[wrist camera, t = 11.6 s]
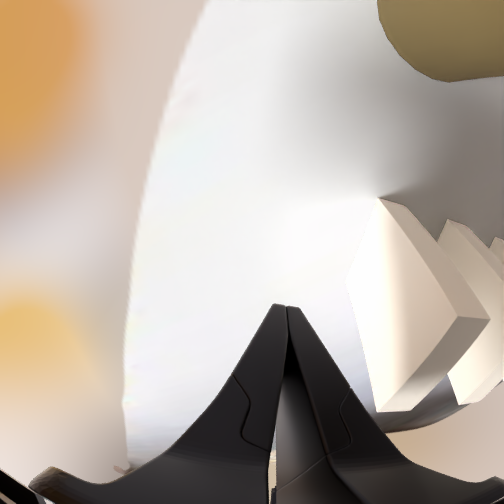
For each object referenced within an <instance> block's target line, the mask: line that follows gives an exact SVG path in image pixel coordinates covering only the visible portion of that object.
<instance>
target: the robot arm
mask: <svg viewBox="0 0 504 504" xmlns="http://www.w3.org/2000/svg"><path fill="white" fill-rule="evenodd" d="M275 426H276V481H277V482H276V486H275V488H272V491H271V502H270V504H504V498H502V497H504V480H503V479H500V478H498V477H496V476H494V477H491V478H489V479H487V480H485V481H483V482H477V483H473V482H466V481H463V480H459V479H456V478H453V477H450V476H447V475H445V474H442V473H439V472H436V471H433V470H431V469H428V468H425V467H423V466H420V465H417V464H415V463H414V462H412V461H410V460H409V459H407V458H406V457H405V456H404V455H403V454H401V452H400V451H399V450H398V449H397V448H396V447H395V445H394V444H393V443H392V442H391V441H390V439H389V438H388V437H387V436H386V434H385V433H384V432H383V431H382V429H381V428H380V427H379V426H378V425H377V423H376V422H375V421H374V419H373V418H372V417H371V416H370V414H369V413H368V412H367V410H366V409H365V408H364V406H363V405H362V403H361V402H360V400H359V399H358V397H357V396H356V394H355V393H354V391H353V389H352V388H350V385H349V383H348V382H347V380H346V379H345V377H344V376H343V374H342V373H341V371H340V369H339V368H338V366H337V365H336V363H335V362H334V360H333V359H332V357H331V355H330V354H329V352H328V351H327V349H326V348H325V346H324V345H323V343H322V342H321V340H320V339H319V337H318V335H317V334H316V332H315V331H314V329H313V328H312V326H311V325H310V323H309V322H308V320H307V319H306V317H305V315H304V314H303V312H302V311H301V309H300V308H298V307H293V306H285V305H281V304H272V306H271V308H270V309H269V311H268V313H267V315H266V316H265V318H264V320H263V322H262V323H261V325H260V327H259V328H258V330H257V332H256V334H255V335H254V337H253V339H252V340H251V342H250V344H249V345H248V347H247V349H246V350H245V352H244V354H243V355H242V357H241V359H240V360H239V362H238V364H237V365H236V367H235V369H234V370H233V372H232V373H231V376H229V378H228V380H227V381H226V383H225V384H224V386H223V387H222V389H221V390H220V392H219V393H218V395H217V396H216V398H215V399H214V400H213V401H212V402H211V404H210V405H209V406H208V407H207V409H206V410H205V411H204V412H203V413H202V414H201V415H200V416H199V418H198V419H197V420H196V421H195V422H194V423H193V424H192V425H191V426H190V427H189V428H188V429H187V431H186V432H185V433H184V434H183V435H182V436H181V437H180V438H179V439H178V440H177V441H176V442H175V443H174V444H173V445H172V446H171V447H169V448H168V449H167V450H166V451H165V452H163V453H162V454H160V455H159V456H157V457H155V458H154V459H152V460H150V461H149V462H147V463H145V464H144V465H142V466H140V467H138V468H137V469H135V470H133V471H131V472H129V473H127V474H126V475H124V476H122V477H120V478H118V479H116V480H114V481H111V482H109V483H102V484H96V483H90V482H87V481H84V480H82V479H80V478H77V477H75V476H73V475H71V474H69V473H67V472H65V471H63V470H60V469H58V468H55V467H49V468H47V469H46V470H45V471H43V472H42V473H40V474H39V475H37V476H36V477H35V478H34V479H33V480H32V481H31V482H30V484H29V486H28V487H29V488H28V487H26V486H25V485H23V484H22V483H20V482H19V481H17V480H16V479H14V478H13V477H11V476H10V475H9V474H7V473H6V472H4V471H3V470H2V469H0V504H46V502H45V501H44V498H45V499H46V500H48V501H50V502H52V503H53V504H269V490H268V467H269V460H270V453H271V449H272V443H273V438H274V432H275ZM500 498H502V499H500ZM499 499H500V500H499ZM497 500H498V501H497ZM495 501H496V502H495ZM493 502H494V503H493Z"/></svg>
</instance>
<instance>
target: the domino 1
mask: <svg viewBox="0 0 504 504" xmlns="http://www.w3.org/2000/svg"><path fill="white" fill-rule="evenodd" d="M346 284H347V288H348V291H349V295H350V298H351V302H352V306H353V309H354V313H355V317H356V321H357V325H358V329H359V333H360V337H361V341H362V345H363V349H364V353H365V358H366V362H367V367H368V371H369V376H370V381H371V385H372V390H373V395H374V401H375V406H376V411H377V412H395V411H410V410H411V409H413V408H414V407H415V406H416V405H417V404H418V403H419V402H420V401H421V400H422V399H423V398H424V397H425V396H426V395H427V394H428V393H429V392H430V391H431V390H432V389H433V388H434V387H435V386H436V385H437V384H438V383H439V382H440V381H441V380H442V379H443V378H444V377H445V376H446V374H447V373H448V372H449V371H450V370H451V369H452V368H453V367H454V366H455V364H456V363H457V362H458V361H459V360H460V359H461V357H462V356H463V355H464V354H465V353H466V352H467V350H468V349H469V348H470V347H471V345H472V344H473V343H474V342H475V340H476V339H477V338H478V336H479V335H480V334H481V332H482V331H483V330H484V328H485V327H486V326H487V324H488V323H489V322H490V320H491V319H490V317H489V315H488V314H487V312H486V311H485V309H484V307H483V306H482V304H481V303H480V301H479V300H478V298H477V297H476V295H475V294H474V292H473V291H472V289H471V288H470V286H469V285H468V283H467V282H466V281H465V279H464V278H463V276H462V275H461V274H460V272H459V271H458V270H457V268H456V267H455V265H454V264H453V263H452V261H451V260H450V259H449V258H448V256H447V255H446V254H445V252H444V251H443V250H442V249H441V247H440V246H439V245H438V243H437V242H436V241H435V240H434V239H433V237H432V236H431V235H430V234H429V232H428V231H427V230H426V229H425V228H424V227H423V225H422V224H421V223H420V222H419V221H418V220H417V218H416V217H415V216H414V215H413V214H412V213H411V212H410V210H409V209H408V208H407V207H406V206H405V205H401V204H398V203H394V202H391V201H387V200H384V199H380V198H377V201H376V204H375V207H374V210H373V213H372V215H371V218H370V221H369V224H368V226H367V229H366V232H365V234H364V237H363V240H362V242H361V245H360V247H359V250H358V252H357V255H356V257H355V260H354V262H353V265H352V267H351V269H350V272H349V274H348V276H347V279H346Z"/></svg>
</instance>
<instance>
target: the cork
mask: <svg viewBox="0 0 504 504" xmlns="http://www.w3.org/2000/svg"><path fill="white" fill-rule="evenodd" d="M377 5H378V12H379V20H380V22H381V24H382V27H383V29H384V31H385V34H386V36H387V38H388V40H389V41H390V42H391V44H392V45H393V46H394V48H395V49H396V51H397V52H398V54H399V55H400V56H401V57H402V58H403V59H404V60H406V61H407V62H408V63H409V64H410V65H411V66H412V67H413V68H414V69H415V70H417V71H419V72H421V73H423V74H424V75H426V76H428V77H430V78H432V79H435V80H440V81H444V82H455V81H462V80H470V79H478V78H487V77H498V76H504V0H377Z"/></svg>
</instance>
